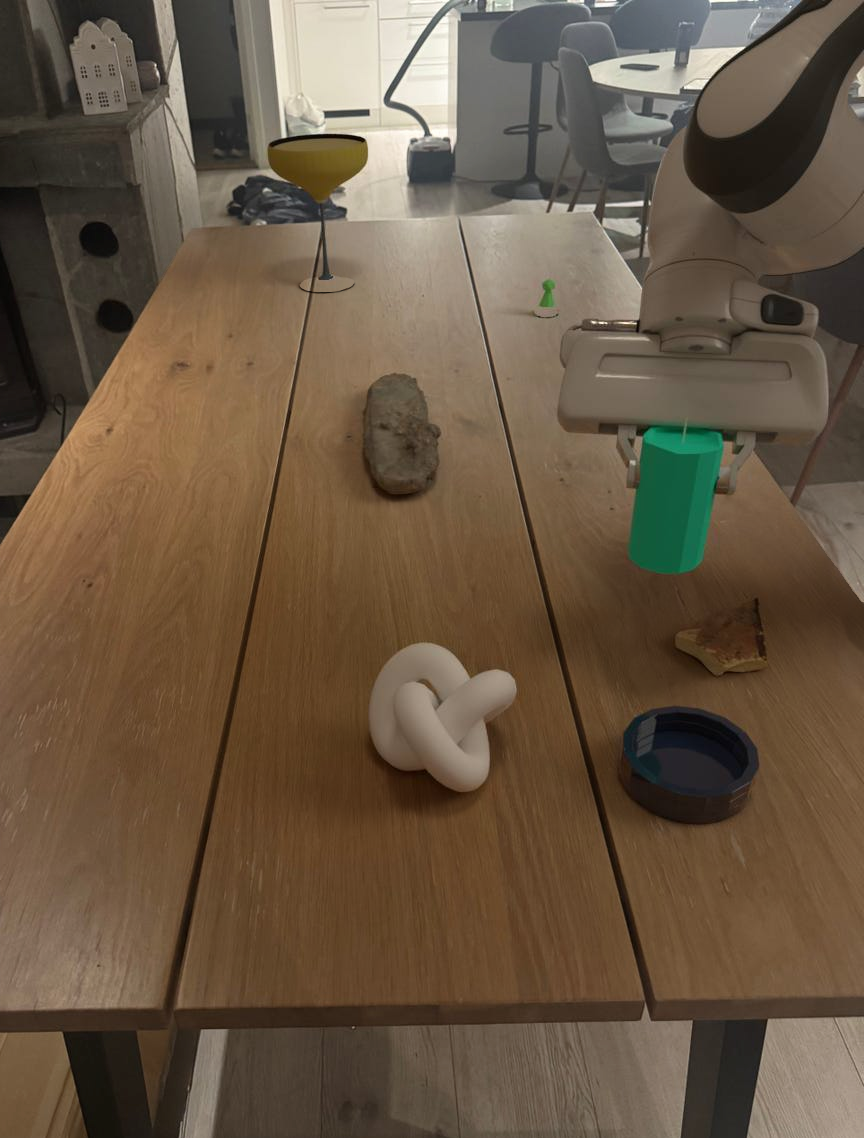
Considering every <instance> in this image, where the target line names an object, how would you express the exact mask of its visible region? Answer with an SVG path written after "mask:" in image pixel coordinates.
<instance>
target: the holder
mask: <svg viewBox="0 0 864 1138" xmlns="http://www.w3.org/2000/svg"><path fill="white" fill-rule="evenodd" d="M758 750H759V749H758V747H757V746H756V744H755V743H754V741H753V740H752V739H751V738H750V736H749V735H748V733H747V732H746V731H745V730H744V729H742V728H741V727H740V726H739V725H737V724H735V723H733V722H732V721H731V720H730V719H728V718H727V717H725V716H722V715H720V714H717V713H714V712H712V711H708V710H706V709H703V708H699V707H691V706H683V705H669V706H663V707H655V708H650V709H649V710H646V711H645V712H642V713H641V714H639V715H637V716H634V717H633V719H632V720H631V721H630V723H629V724H628V725H627V727H626V728H625V729H624V731H623V733H622V738H621V744H620V750H619V751H620V752H619V753H620V754H619V761H618V774H619V779H620V781H621V784H622V785H623V788H624V790H625V791H626V792H627V794H628V795H629V797H631V798H632V799H633V800H634V802H636V803H637V804H639V805H640V806H641V807H643V808H644V809H646V810H648V811H649V812H651V813H653V814H655V815H658V816H659V817H662V818H664V819H667V820H669V821H670V820H671V821H673V822H679V823H684V824H692V825H693V824H694V825H707V824H713V823H718V822H722V821H725V820H727V819H730V818H732V817H734V816H735V815H736V814H738V813H739V812H740V811H742V810H743V809H744V807H746V805H747V803H748V802H749V799H750V797H751V794H752V791H753V789H754V786H755V785H756V781H757V777H758V774H759V770H760V759H759V751H758Z"/></svg>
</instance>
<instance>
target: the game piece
mask: <svg viewBox="0 0 864 1138" xmlns="http://www.w3.org/2000/svg"><path fill="white" fill-rule="evenodd" d="M541 283H542V284H541V285H542V290H543V291H544V293H543V295H542V297H541V300H540V302H539V304H538V307H539V306H541V307H553V306H554V305H556V302H555V299H554V296H553V292H552V291H553V290H555V289H556V285H555V284H556V283H555V280H552V279H550V278H549V279H546V280H545V281H543V282H541Z"/></svg>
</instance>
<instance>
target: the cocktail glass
mask: <svg viewBox="0 0 864 1138" xmlns="http://www.w3.org/2000/svg"><path fill="white" fill-rule="evenodd" d="M368 159H369V146H368V142H367V139H366V138H365V137H363V136H360V135H357V134H347V133H310V134H299V135H293V136H287V137H282V138H277V139H274V140H272V141H270V142H269V143H268V145H267V161H268V164H269V167H270V169H271V170H272V172H274V173H275V174H276V175H277V176H278V177H279V178H280V179H283V180H285V181H286V182H288V183H290V184H293V185H295V186H297V187H299V188H301V189H303V190H304V191H306V192H307V193H308V194H309V195H310V196H311V198H312V199H313V200H314V201H315V202H316V203H318V204H319V211H320V212H319V214H320V226H321V243H322V244H321V245H322V274H321V275H320V276H321V277H319V278H318V279H319V280H329V279H332V278H333V276H331V275H332V274H331V272H330V267H329V262H328V261H329V260H328V253H327V252H328V251H327V241H326V240H327V239H326V238H327V237H326V227H325V212H324V203H326V202H327V201H328V200H329V198H330V196H331V194H332V193H333V191H335V190H336V189H337V188H339V187H340V186H341V185H343V184H345V183H347V182H348V181H349V180H352V179H353V178H354V177H355V176H357V175H358V174H359V173H360V172H362V170H363V169H364V168H365V167H366V165H367V162H368Z"/></svg>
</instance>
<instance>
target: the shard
mask: <svg viewBox="0 0 864 1138" xmlns="http://www.w3.org/2000/svg"><path fill="white" fill-rule="evenodd" d="M674 646H675V648H676V649H677V650H680V651H682V652H684V653H686V654H688V655H691V656H693V657H695V658H696V659H697V660H699V661H700V662H701V663H702V665H704V666H705V668H706V669H707V670H709V672H711V673H712V675H714V676H721V675H723V674H724V673H725V672H734V673H744V672H747V673H748V672H754V671H757V670H764V669H765V668H766V667H767V666H768V664H769V659H768V654H767V646H766V638H765V629H764V623H763V619H762V615H761V613H760V602H759V598H758V597H755V598H753V599H751V600H749V601H746V602H743V603H742V604H740V605H739V606H736V607H733V608H730V609H727V610H723V611H720V612H718V613H716V614H714V615H710V616H708V617H705V618H703V619H701V620H699V621H695V622H694V623H692V624H691V625H689V626H688V627H685V628H682V629H680V630H679V631H678V632H677V633H676V635H675V636H674Z"/></svg>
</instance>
